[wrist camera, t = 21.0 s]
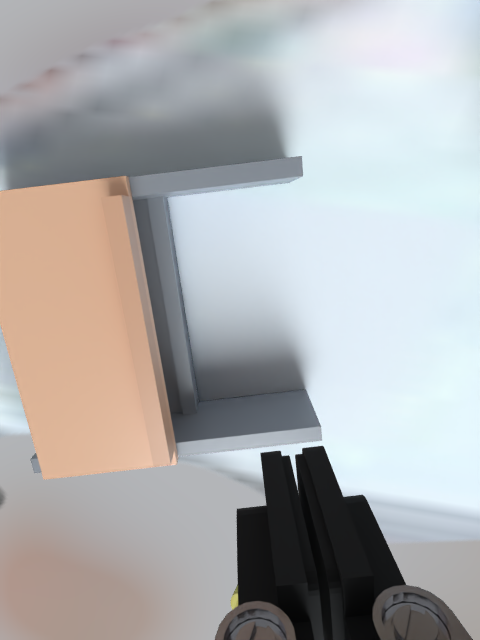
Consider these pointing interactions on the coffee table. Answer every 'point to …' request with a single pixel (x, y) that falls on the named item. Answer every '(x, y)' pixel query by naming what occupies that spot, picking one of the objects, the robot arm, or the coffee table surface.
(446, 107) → the coffee table surface
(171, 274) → the housing
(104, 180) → the lid
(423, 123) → the coffee table surface
